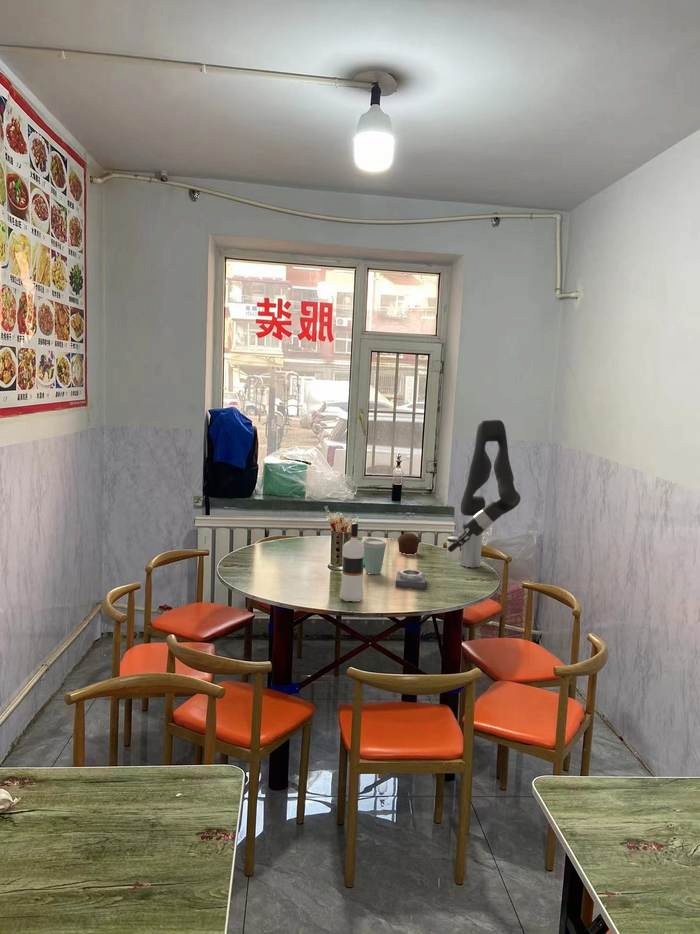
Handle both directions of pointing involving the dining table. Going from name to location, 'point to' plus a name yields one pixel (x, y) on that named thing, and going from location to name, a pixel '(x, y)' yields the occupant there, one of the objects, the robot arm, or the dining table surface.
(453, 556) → the white banded cylinder
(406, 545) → the muffin
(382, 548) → the disposable coffee cup
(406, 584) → the grey ring holder base
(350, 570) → the vodka
